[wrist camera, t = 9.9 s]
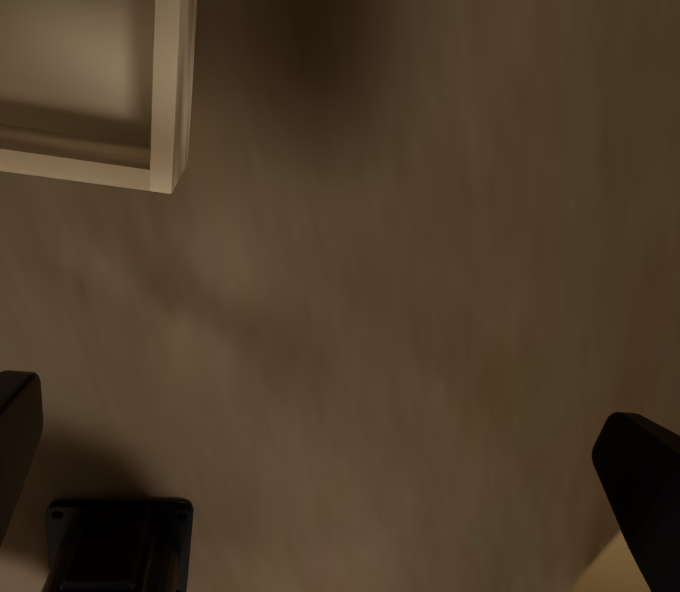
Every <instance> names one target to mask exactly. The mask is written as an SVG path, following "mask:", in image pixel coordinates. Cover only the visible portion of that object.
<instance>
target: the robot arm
mask: <svg viewBox="0 0 680 592" xmlns="http://www.w3.org/2000/svg"><path fill="white" fill-rule="evenodd" d="M42 428H43V410H42V395H41V382H40V378H39V376H38V375H37V374H36V373H35V372H25V371H11V370H6V371H2V372H0V545H1V543H2V541H3V539H4V536H5V534H6V531H7V528H8V526H9V523H10V520H11V518H12V515H13V512H14V509H15V507H16V504H17V501H18V498H19V495H20V493H21V490H22V487H23V484H24V482H25V479H26V476H27V473H28V470H29V468H30V465H31V462H32V459H33V457H34V454H35V451H36V448H37V445H38V443H39V440H40V437H41V433H42ZM592 461H593V465H594V467H595V469H596V472H597V474H598V477H599V479H600V481H601V484H602V486H603V489H604V491H605V493H606V496H607V498H608V501H609V503H610V505H611V508H612V510H613V512H614V515H615V517H616V520H617V522H618V524H619V527H620V529H621V532H622V534H623V536H624V538H625V541H626V543H627V545H628V547H629V549H630V551H631V553H632V555H633V557H634V559H635V561H636V563H637V565H638V567H639V569H640V571H641V573H642V575H643V577H644V579H645V581H646V582H647V584H648V586H649V588H650V590H651V592H680V436H679V435H677V434H675V433H673V432H672V431H670V430H668V429H666V428H664V427H662V426H660V425H658V424H656V423H655V422H653V421H651V420H649V419H647V418H645V417H643V416H641V415H639V414H636V413H625V412H615V413H612V414H611V415H610V416H609V417H608V418H607V420H606V422H605V424H604V426H603V428H602V430H601V432H600V434H599V436H598V438H597V440H596V442H595V444H594V447H593V449H592ZM58 511H60V512H58ZM193 512H194V511H193V507H192V506H191V505H189V504H186V503H157V502H117V501H76V500H56V501H53V502H52V503H51V504H50V505H49V507H48V509H47V511H46V527H47V541H48V554H49V568H50V571H49V574H48V576H47V579H46V581H45V584H44V587H43V589H42V592H186V590H187V580H188V569H189V557H190V546H191V534H192V523H193ZM182 514H183V515H182Z"/></svg>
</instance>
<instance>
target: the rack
mask: <svg viewBox="0 0 680 592" xmlns="http://www.w3.org/2000/svg"><path fill="white" fill-rule="evenodd" d="M197 3H198V0H0V171H6V172H14V173H21V174H28V175H36V176H43V177H51V178H58V179H65V180H73V181H80V182H88V183H95V184H102V185H110V186H117V187H124V188H132V189H139V190H147V191H154V192H161V193H169V194H172V192H173V190H174V188H175V186H176V184H177V182H178V181H179V179H180V177H181V175H182V173H183V171H184V169H185V168H186V166H187V164H188V154H189V137H190V120H191V104H192V87H193V70H194V53H195V36H196V20H197Z"/></svg>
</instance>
